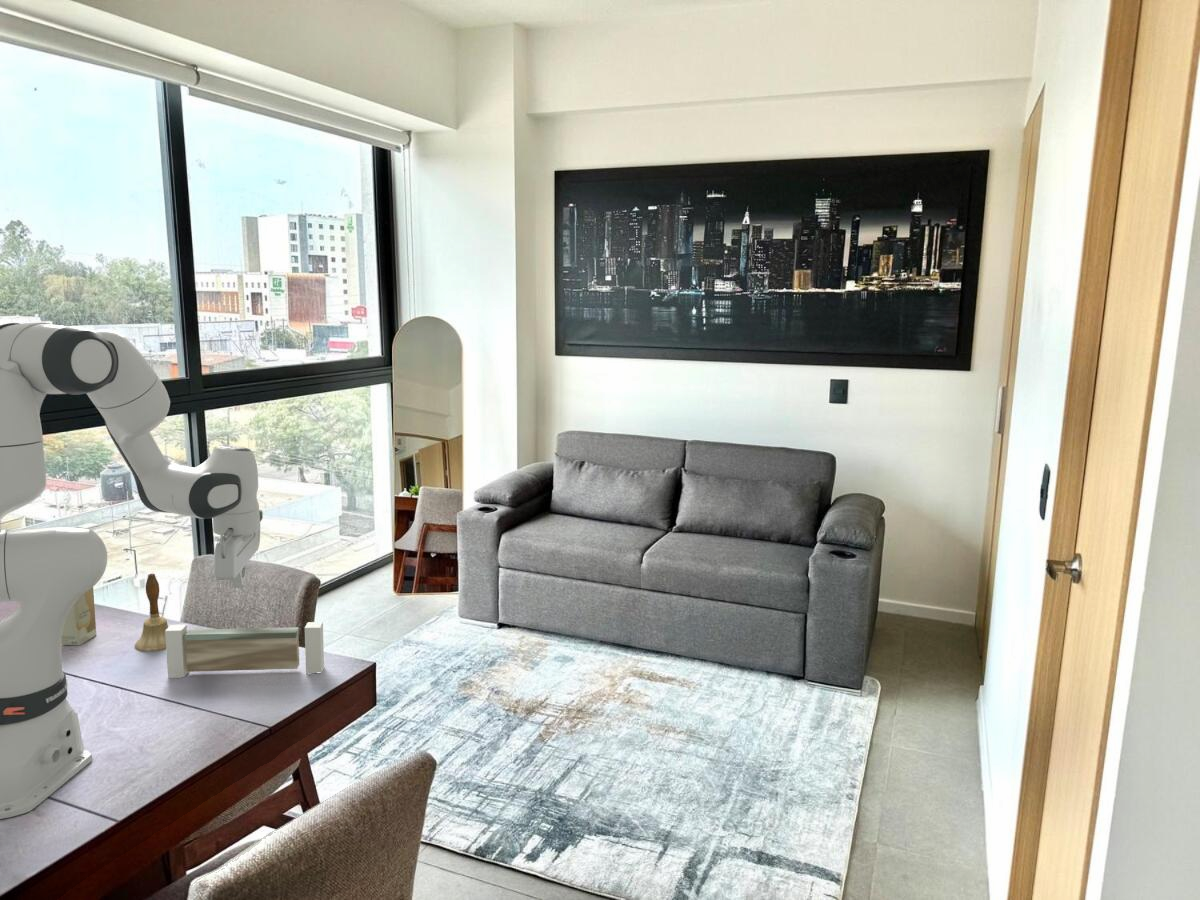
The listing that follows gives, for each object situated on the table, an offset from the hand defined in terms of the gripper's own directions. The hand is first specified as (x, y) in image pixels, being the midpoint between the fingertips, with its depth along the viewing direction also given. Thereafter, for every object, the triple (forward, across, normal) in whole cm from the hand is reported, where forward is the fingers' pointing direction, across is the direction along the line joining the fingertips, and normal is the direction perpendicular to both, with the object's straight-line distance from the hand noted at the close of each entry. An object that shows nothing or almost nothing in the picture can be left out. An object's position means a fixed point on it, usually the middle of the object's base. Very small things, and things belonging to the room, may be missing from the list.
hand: (239, 585), depth 173 cm
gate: (+15, -9, -3) cm, 17 cm away
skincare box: (+16, +10, +37) cm, 42 cm away
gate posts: (+15, -9, -3) cm, 18 cm away
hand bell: (+16, +7, +20) cm, 27 cm away
